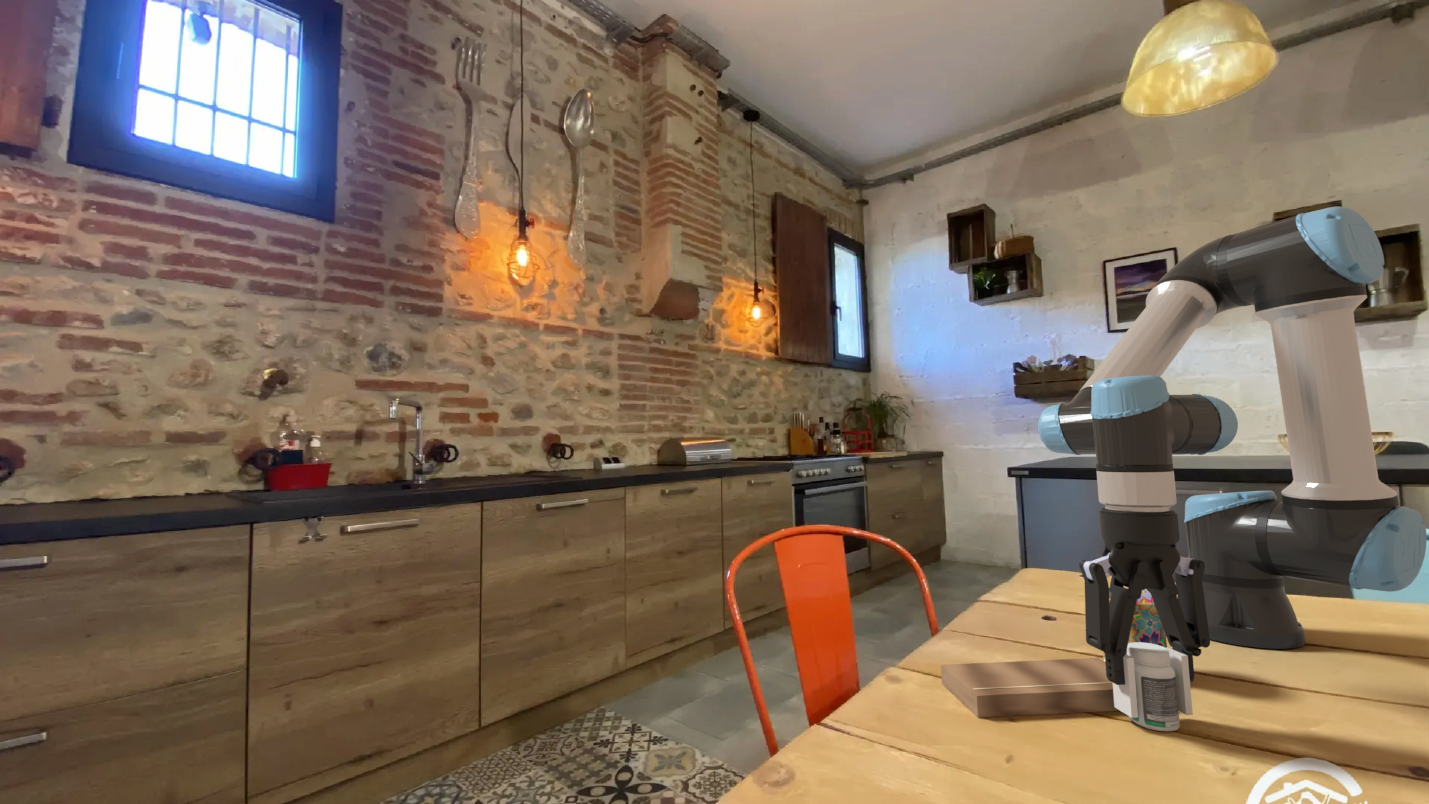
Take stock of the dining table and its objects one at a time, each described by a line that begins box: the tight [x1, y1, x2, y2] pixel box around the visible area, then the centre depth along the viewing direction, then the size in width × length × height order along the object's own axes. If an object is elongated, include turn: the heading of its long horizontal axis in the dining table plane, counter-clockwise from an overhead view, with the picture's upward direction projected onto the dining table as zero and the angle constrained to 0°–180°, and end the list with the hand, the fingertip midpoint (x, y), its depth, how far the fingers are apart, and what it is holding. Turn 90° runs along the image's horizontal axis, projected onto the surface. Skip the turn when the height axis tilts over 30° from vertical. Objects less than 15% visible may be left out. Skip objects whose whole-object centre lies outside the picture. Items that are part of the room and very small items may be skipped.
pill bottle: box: [1127, 642, 1181, 732], centre depth 68 cm, size 5×5×8 cm
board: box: [940, 657, 1121, 718], centre depth 76 cm, size 22×10×3 cm, turn 93°
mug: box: [1101, 587, 1168, 662], centre depth 84 cm, size 12×9×11 cm
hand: (1152, 710), depth 68 cm, fingers open, 6 cm apart
